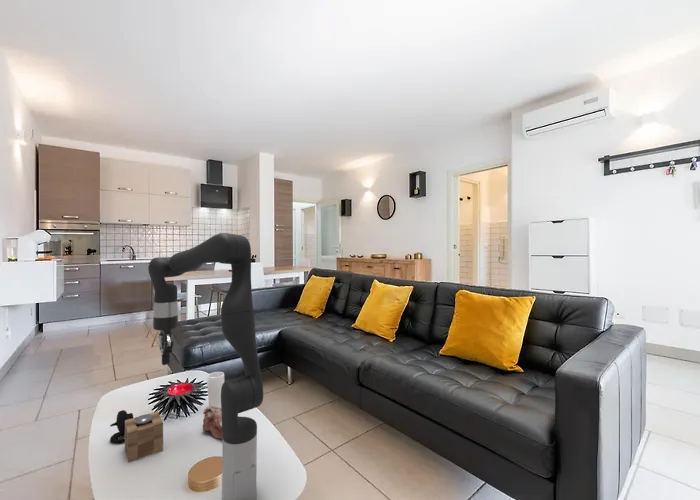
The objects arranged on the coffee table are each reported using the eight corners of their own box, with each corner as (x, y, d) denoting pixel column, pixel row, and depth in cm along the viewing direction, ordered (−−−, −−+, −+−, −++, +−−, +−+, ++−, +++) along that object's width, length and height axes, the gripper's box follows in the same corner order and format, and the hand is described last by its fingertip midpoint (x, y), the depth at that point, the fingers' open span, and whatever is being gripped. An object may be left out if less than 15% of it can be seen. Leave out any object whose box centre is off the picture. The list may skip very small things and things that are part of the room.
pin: (153, 448, 113) (153, 418, 113) (135, 453, 110) (136, 423, 109) (150, 441, 117) (151, 412, 116) (134, 446, 113) (134, 417, 113)
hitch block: (162, 450, 112) (163, 423, 112) (127, 462, 106) (127, 433, 106) (157, 437, 120) (157, 411, 120) (124, 447, 114) (124, 420, 113)
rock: (204, 397, 131) (242, 391, 132) (210, 423, 132) (246, 417, 133) (187, 421, 116) (229, 413, 116) (193, 449, 117) (235, 442, 117)
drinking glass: (203, 411, 138) (203, 376, 138) (214, 404, 145) (214, 370, 145) (216, 414, 136) (217, 378, 136) (227, 406, 143) (227, 372, 143)
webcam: (137, 438, 119) (138, 411, 119) (113, 447, 114) (113, 418, 113) (131, 430, 124) (131, 403, 124) (107, 438, 119) (107, 411, 119)
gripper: (182, 316, 111) (181, 367, 111) (173, 310, 121) (173, 356, 121) (156, 319, 106) (156, 372, 107) (150, 312, 117) (150, 361, 117)
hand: (165, 364), depth 114 cm, fingers closed
